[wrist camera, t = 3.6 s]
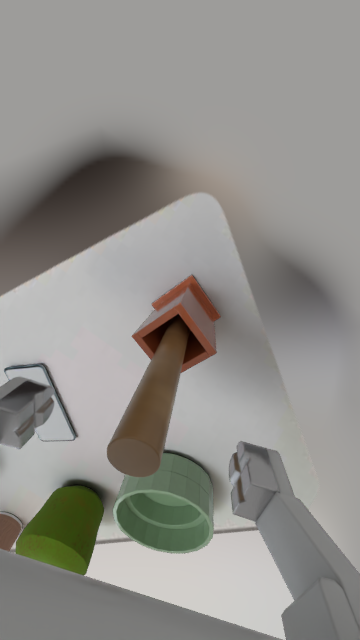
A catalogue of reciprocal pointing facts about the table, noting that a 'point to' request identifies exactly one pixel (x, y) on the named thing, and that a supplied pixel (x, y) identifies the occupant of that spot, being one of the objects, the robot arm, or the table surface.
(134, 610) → the robot arm
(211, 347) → the utensil holder
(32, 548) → the apple
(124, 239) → the table surface
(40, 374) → the smartphone
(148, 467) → the stirring stick
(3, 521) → the coffee cup
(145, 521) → the green round dish
